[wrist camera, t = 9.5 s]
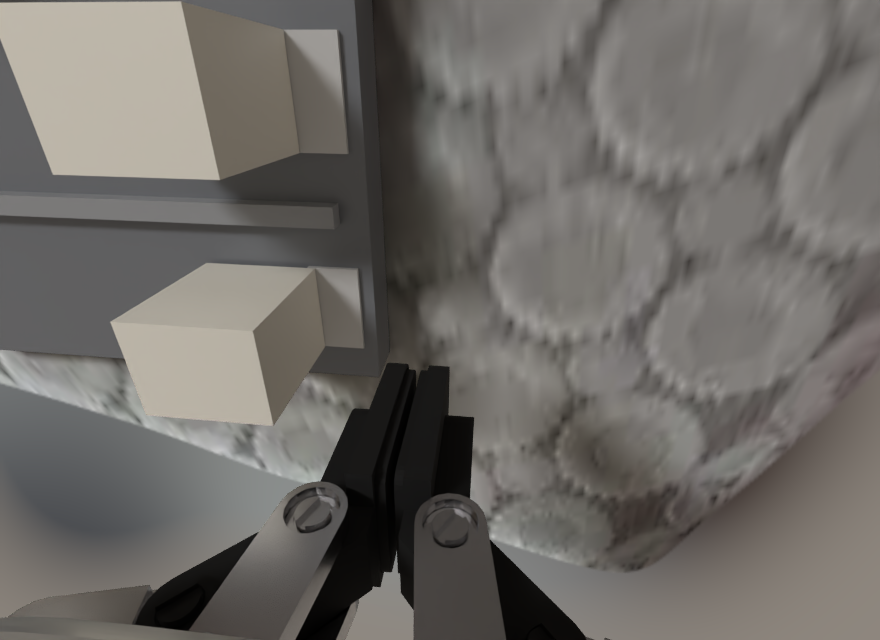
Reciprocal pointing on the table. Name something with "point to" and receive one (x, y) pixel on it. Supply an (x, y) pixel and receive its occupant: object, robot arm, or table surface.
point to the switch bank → (209, 207)
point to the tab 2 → (224, 342)
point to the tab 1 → (151, 88)
